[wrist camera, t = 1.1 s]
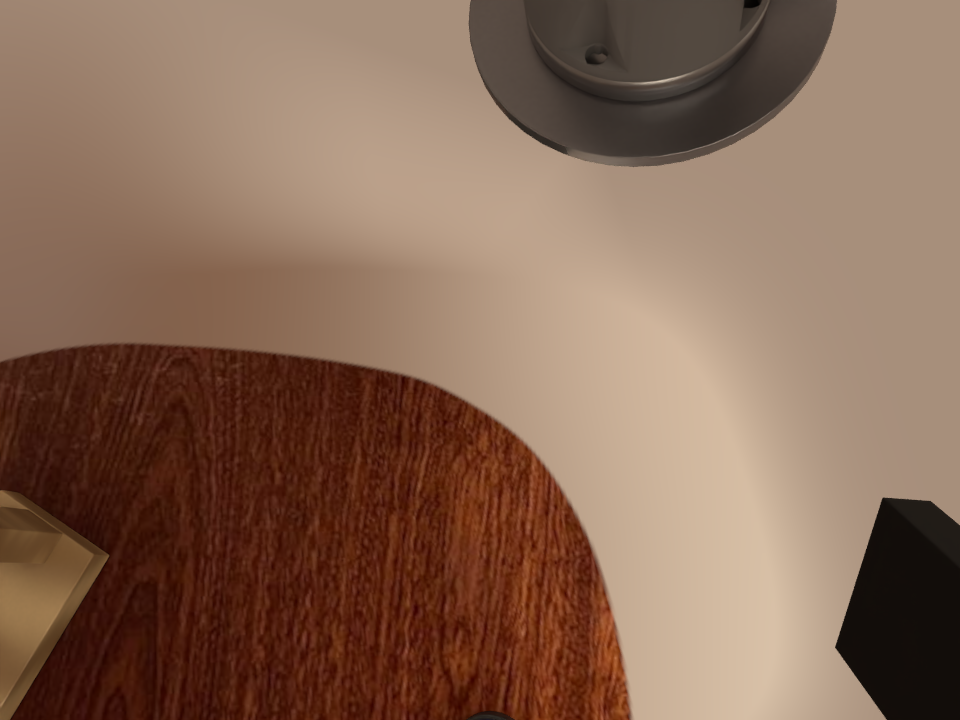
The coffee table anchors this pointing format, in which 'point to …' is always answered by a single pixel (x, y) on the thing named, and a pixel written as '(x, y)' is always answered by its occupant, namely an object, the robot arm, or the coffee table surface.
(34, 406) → the coffee table surface
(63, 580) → the rack
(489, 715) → the umbrella
